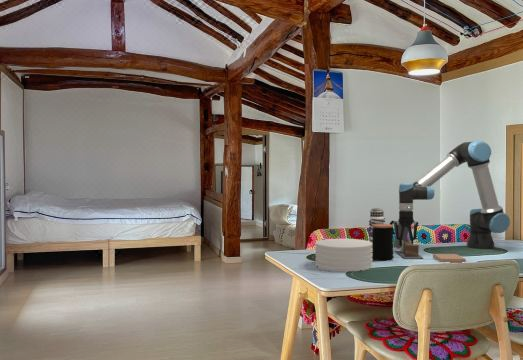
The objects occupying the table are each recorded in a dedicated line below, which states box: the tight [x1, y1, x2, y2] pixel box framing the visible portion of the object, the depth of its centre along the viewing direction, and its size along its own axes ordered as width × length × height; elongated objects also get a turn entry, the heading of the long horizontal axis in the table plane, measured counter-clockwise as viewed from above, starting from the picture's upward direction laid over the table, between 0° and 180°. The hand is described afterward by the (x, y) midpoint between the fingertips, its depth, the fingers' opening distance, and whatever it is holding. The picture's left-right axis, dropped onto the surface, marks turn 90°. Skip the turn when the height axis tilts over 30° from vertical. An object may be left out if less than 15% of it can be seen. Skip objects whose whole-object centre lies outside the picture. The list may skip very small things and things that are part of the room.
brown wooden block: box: [403, 240, 420, 257], centre depth 259 cm, size 18×7×6 cm, turn 177°
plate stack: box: [314, 238, 373, 272], centre depth 233 cm, size 28×28×12 cm
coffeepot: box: [389, 220, 409, 249], centre depth 285 cm, size 15×9×18 cm, turn 33°
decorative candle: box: [368, 207, 386, 251], centre depth 269 cm, size 9×9×25 cm
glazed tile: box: [432, 253, 467, 264], centre depth 242 cm, size 12×3×14 cm
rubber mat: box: [394, 250, 424, 260], centre depth 258 cm, size 10×22×1 cm, turn 177°
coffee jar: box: [372, 223, 394, 261], centre depth 249 cm, size 11×11×18 cm
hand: (406, 251), depth 263 cm, fingers open, 4 cm apart
